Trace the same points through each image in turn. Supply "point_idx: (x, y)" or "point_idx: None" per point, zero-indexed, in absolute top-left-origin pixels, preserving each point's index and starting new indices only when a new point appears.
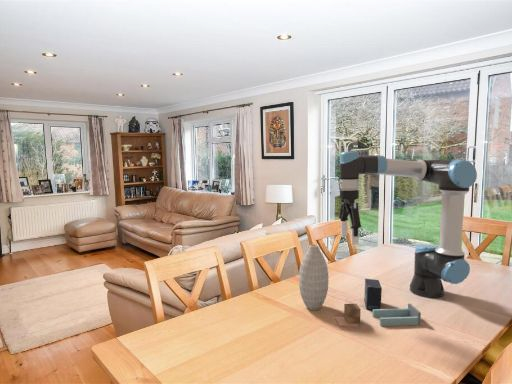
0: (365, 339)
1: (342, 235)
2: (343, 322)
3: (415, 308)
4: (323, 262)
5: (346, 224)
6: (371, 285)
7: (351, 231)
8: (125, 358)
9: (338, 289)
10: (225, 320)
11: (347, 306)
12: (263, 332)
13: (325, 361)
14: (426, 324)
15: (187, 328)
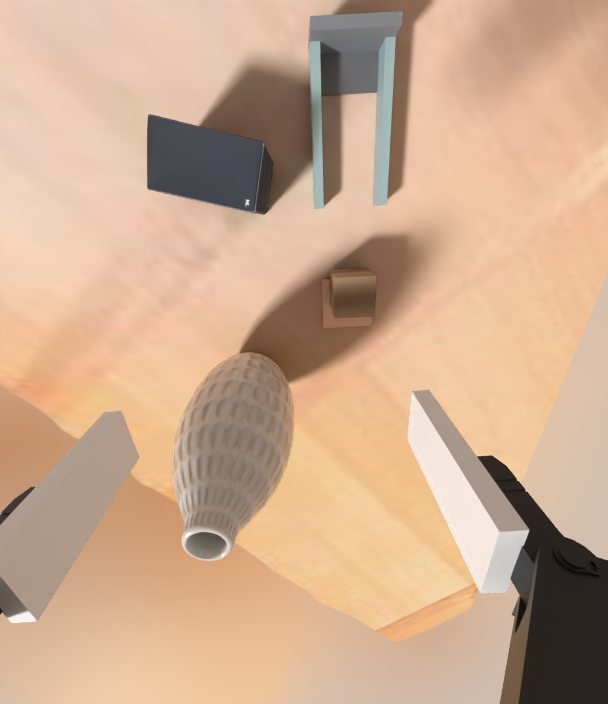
0: (443, 276)
1: (133, 455)
2: None
3: (360, 16)
4: (258, 446)
5: (38, 526)
6: (239, 186)
7: (464, 544)
8: (424, 615)
9: (96, 268)
10: (321, 532)
11: (355, 313)
12: (377, 476)
13: (506, 383)
14: (388, 5)
15: (348, 575)
